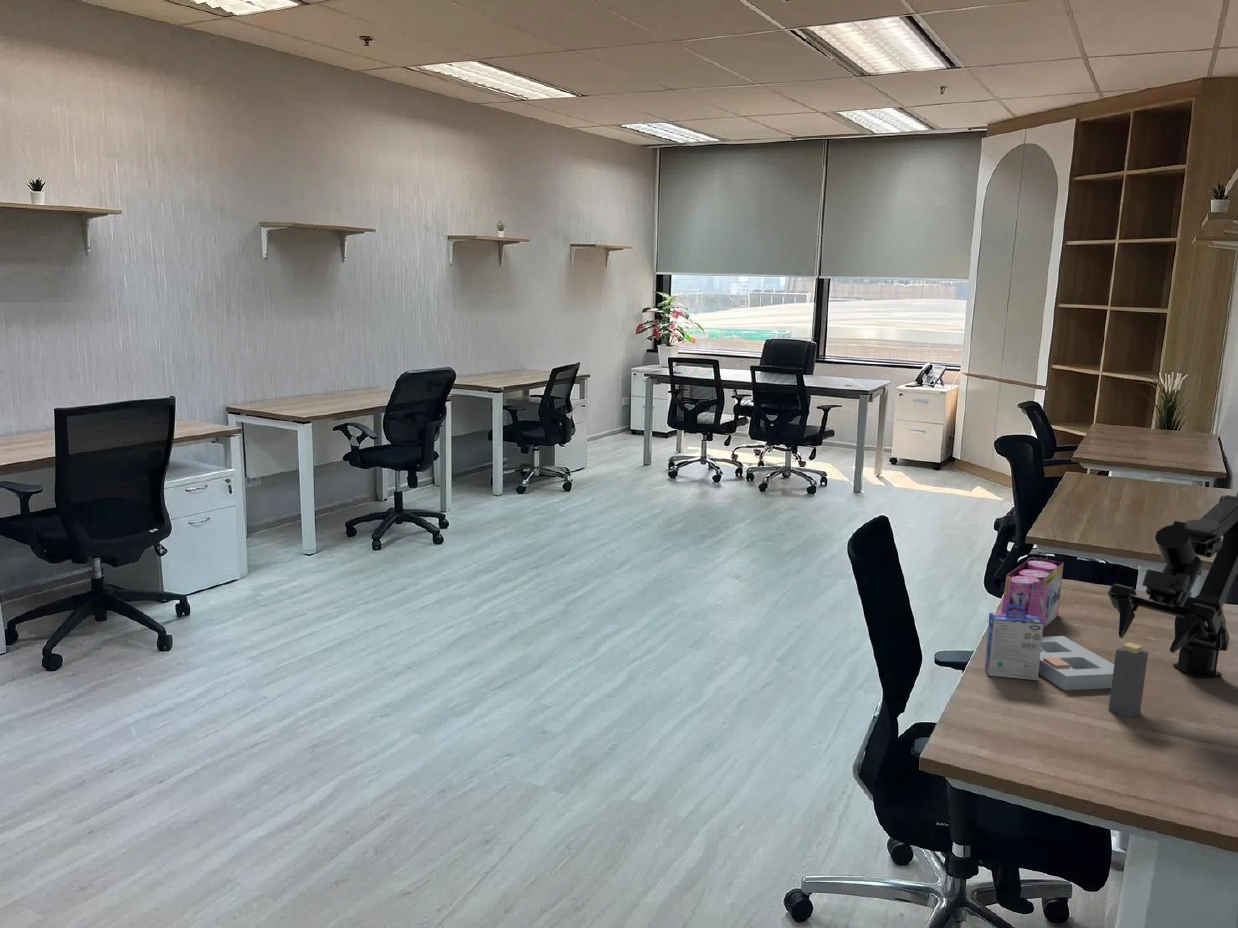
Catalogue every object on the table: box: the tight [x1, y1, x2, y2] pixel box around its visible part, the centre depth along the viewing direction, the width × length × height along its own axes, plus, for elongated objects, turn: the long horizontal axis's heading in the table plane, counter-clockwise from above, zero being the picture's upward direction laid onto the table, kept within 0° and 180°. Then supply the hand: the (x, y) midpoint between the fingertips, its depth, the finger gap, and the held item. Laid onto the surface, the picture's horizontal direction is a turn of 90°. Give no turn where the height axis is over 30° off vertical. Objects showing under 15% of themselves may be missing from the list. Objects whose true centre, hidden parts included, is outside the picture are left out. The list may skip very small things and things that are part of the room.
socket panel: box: [1038, 635, 1114, 691], centre depth 194 cm, size 14×21×4 cm, turn 9°
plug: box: [1108, 642, 1149, 718], centre depth 173 cm, size 4×4×13 cm
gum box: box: [1000, 556, 1064, 630], centre depth 221 cm, size 24×8×14 cm, turn 142°
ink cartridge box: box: [984, 604, 1044, 681], centre depth 190 cm, size 10×6×14 cm, turn 79°
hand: (1145, 643), depth 176 cm, fingers open, 9 cm apart
